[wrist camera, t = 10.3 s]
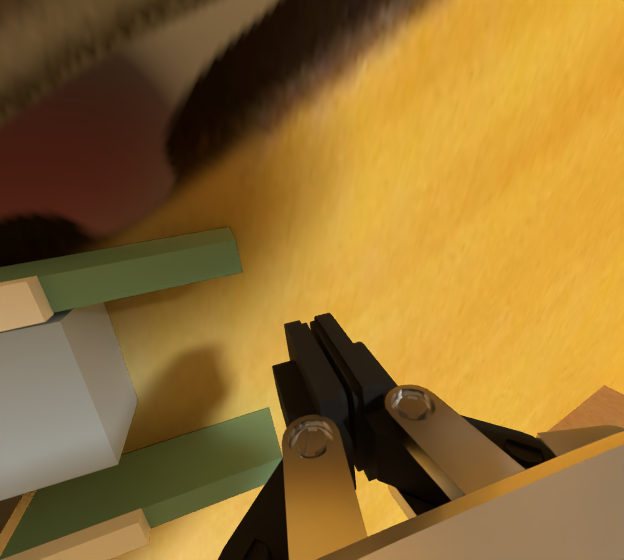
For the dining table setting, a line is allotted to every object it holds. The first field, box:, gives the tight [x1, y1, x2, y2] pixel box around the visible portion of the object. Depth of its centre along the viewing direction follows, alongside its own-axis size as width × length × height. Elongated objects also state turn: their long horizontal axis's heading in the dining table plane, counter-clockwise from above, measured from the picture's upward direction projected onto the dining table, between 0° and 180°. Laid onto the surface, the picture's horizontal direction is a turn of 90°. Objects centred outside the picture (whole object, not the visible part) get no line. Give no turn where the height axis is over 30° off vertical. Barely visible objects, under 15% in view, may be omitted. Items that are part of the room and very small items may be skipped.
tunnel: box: [0, 227, 283, 560], centre depth 13 cm, size 11×12×4 cm
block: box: [0, 302, 138, 501], centre depth 12 cm, size 6×6×4 cm
